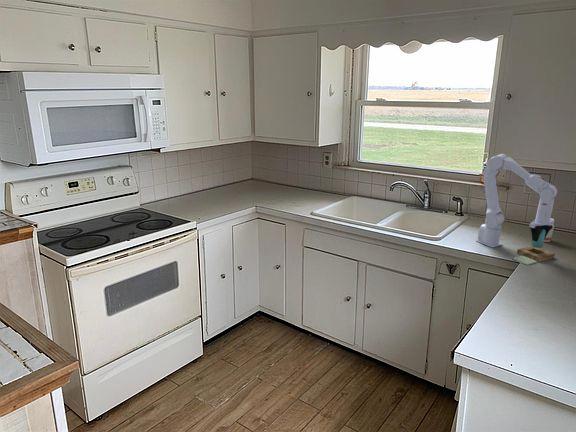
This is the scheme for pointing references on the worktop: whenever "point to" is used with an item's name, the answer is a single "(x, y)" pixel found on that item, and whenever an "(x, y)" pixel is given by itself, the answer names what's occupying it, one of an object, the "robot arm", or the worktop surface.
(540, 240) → the teal cylinder
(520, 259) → the rubber mat
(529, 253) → the header block
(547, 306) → the worktop surface
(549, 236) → the pill bottle
